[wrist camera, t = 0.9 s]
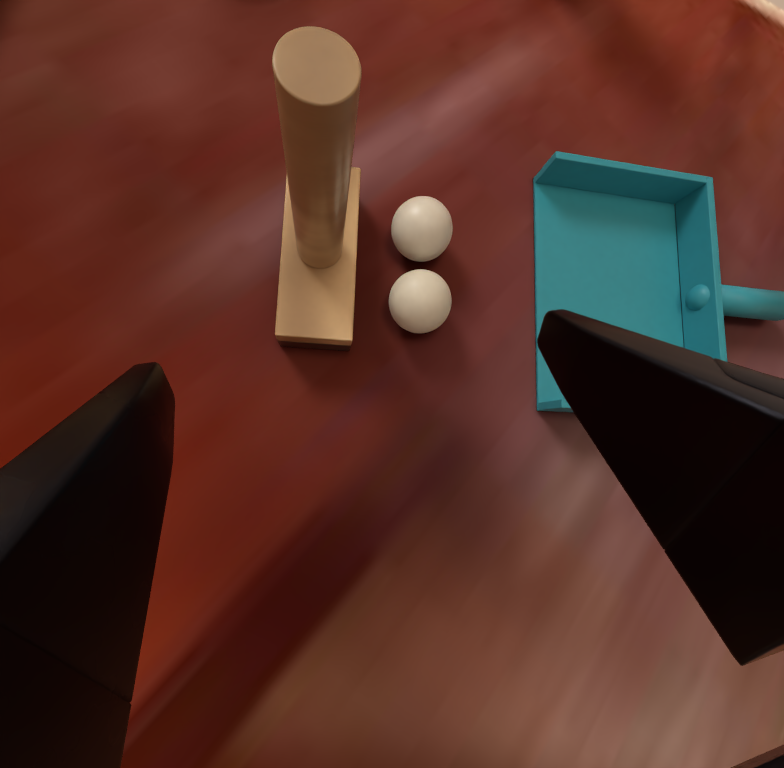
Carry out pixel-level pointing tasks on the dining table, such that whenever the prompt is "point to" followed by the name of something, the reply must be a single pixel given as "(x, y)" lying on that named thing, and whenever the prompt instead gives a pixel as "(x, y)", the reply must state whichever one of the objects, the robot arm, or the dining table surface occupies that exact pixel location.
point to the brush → (317, 188)
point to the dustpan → (633, 257)
